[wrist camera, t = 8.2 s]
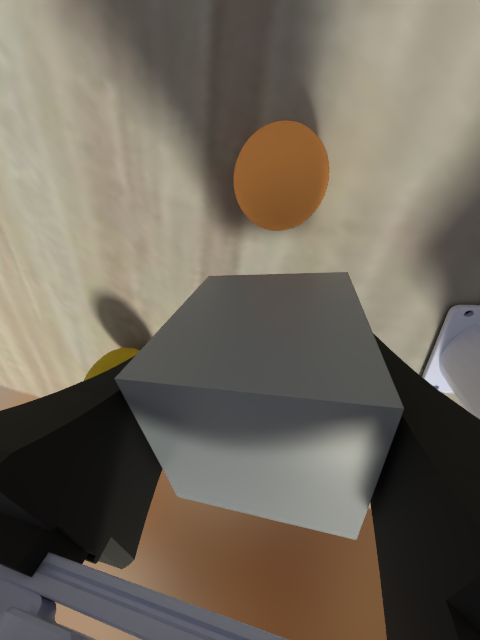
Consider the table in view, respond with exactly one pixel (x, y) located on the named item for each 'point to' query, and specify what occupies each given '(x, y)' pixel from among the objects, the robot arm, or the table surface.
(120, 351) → the lemon
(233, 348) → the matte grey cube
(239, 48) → the table surface
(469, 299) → the table surface
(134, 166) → the table surface
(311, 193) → the ball
